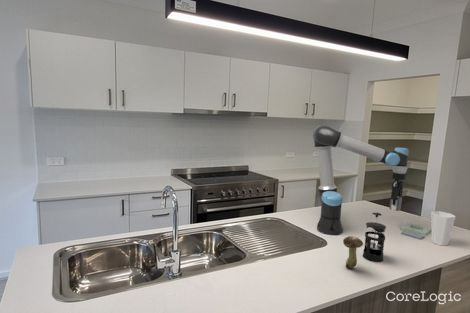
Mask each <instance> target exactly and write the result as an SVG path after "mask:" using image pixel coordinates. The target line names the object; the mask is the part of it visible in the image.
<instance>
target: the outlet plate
mask: <svg viewBox="0 0 470 313" xmlns="http://www.w3.org/2000/svg"><path fill="white" fill-rule="evenodd" d="M400 230H402V231H408V232H411V233H415V234H418V235H422V236H425V237H426V236H428V235H429V234H430V233H432V230H431V227H430V226H426V225H422V224H417V223H413V222H409V221H406V222H405V223H404V224H403V225H400Z"/></svg>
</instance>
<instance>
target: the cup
mask: <svg viewBox="0 0 470 313" xmlns="http://www.w3.org/2000/svg"><path fill="white" fill-rule="evenodd" d="M430 217H431V218H430V220H431V222H430V223H431V224H430V225H431V227H430V228H431V230H432V231H431V242H432V243H433V244H435V245H438V246H441V247H446V246H448V244H449V242H450V238H451V233H452V231H453V226H454V224H455V221H456V215H454V214H453V213H450V212H446V211H439V210H438V211H430Z"/></svg>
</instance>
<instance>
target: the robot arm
mask: <svg viewBox="0 0 470 313" xmlns="http://www.w3.org/2000/svg"><path fill="white" fill-rule="evenodd" d="M312 137H313V143H314V148H315V149H316V150H317V160H318V162H317V163H318V172H319V174H318V175H319V182H320V185H319V186H318V201H319V203H320V205H321V208H320V217H319V220H318V222H317V225H316V230H317V231H318V232H319V233H321V234H324V235H331V236H338V235H342V234H343V232H344V231H343V230H344V227H343V224H342V221H341V217H342V205H343V196H342V194H341V193H340V192H338V186H336V184H335V180H334V179H335V176H334V168H333V157H332V156H333V154H332V148H341V149H344V150H346V151H349V152H352V153H354V154H358V155H359V156H360V155H361V156H362V157H366V158H368V159H371V160H373V162H375V163H382V164H384V165H387V166H388V167H389V166H390V167H392V173H391V178H392V179H393V180H394V181H393V183H391V195H390V199H392V206H391V209H392V210H393V211H396V207H397V196H399V197H402V198H403V190H404V183H405V182H404V181H406V178H407V174H406V173H407V171H408V160H409V152H410V151H409V149H408V148H405V147H395V148H394V150H387V149H383V148H381V147H378V146H375V145H373V144H370V143H367V142H365V141H361V140H358V139H356V138H353V137H349V136H347V135H344V134H343V133H342V132H341V131H338V130H336V129H334V128H333V127H330V126H328V125H326V124H325V125H324V124H322V125H321V124H320V125H318V126H317V127H316V128H314V129H313V132H312ZM391 209H390V210H391ZM392 210H391V211H392Z"/></svg>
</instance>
